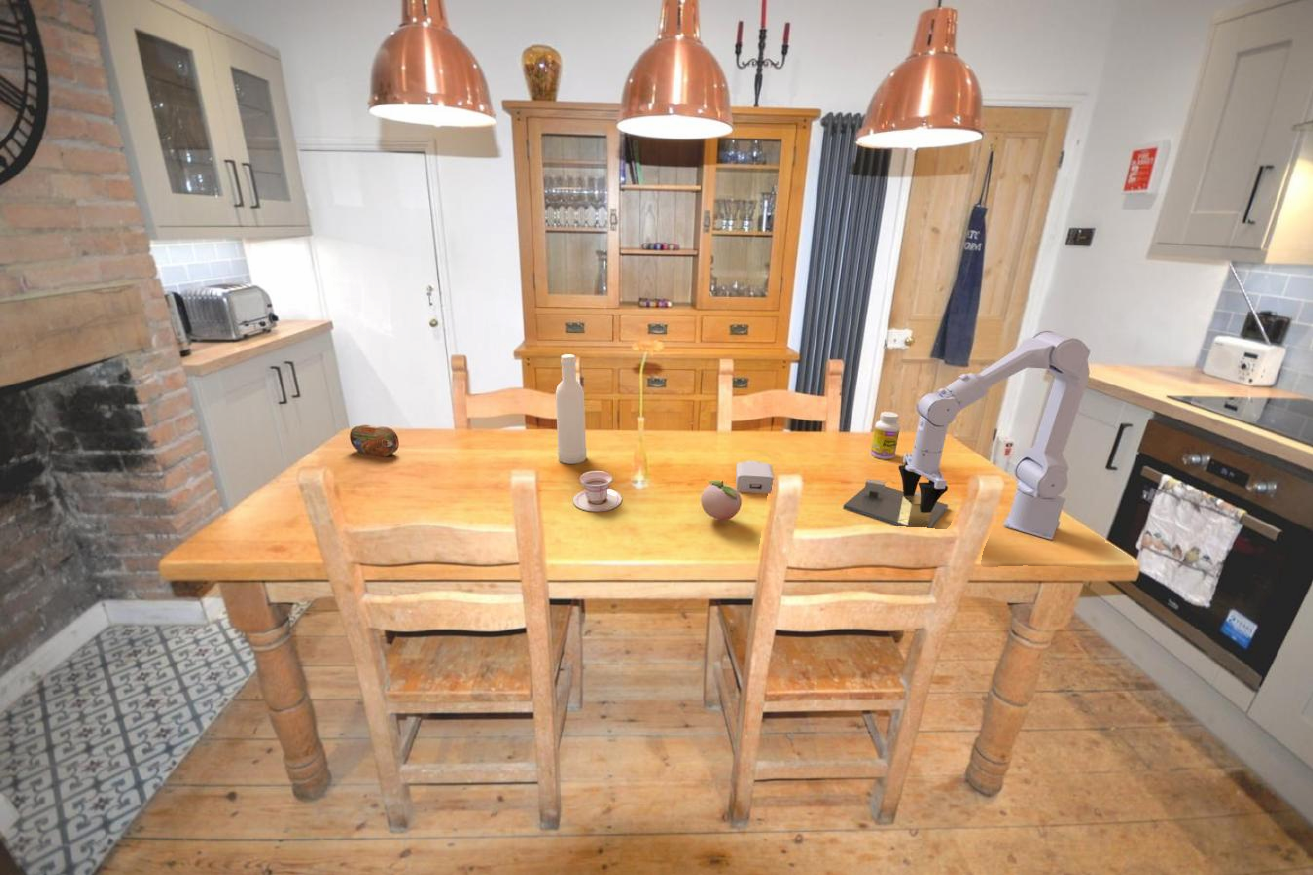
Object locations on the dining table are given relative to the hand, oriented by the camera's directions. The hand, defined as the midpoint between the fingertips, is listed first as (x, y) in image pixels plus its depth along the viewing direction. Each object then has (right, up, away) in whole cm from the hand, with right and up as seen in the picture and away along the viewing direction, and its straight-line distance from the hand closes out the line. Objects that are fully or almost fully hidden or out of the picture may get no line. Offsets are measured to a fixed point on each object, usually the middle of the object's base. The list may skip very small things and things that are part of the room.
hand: (916, 503), depth 129 cm
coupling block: (0, -4, +1) cm, 4 cm away
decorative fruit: (-45, -4, +1) cm, 45 cm away
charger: (-33, +3, +23) cm, 40 cm away
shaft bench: (-1, -2, +8) cm, 9 cm away
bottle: (-83, +9, +34) cm, 90 cm away
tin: (-140, +10, +36) cm, 145 cm away
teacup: (-73, -1, +10) cm, 74 cm away
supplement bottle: (+8, +9, +40) cm, 42 cm away
